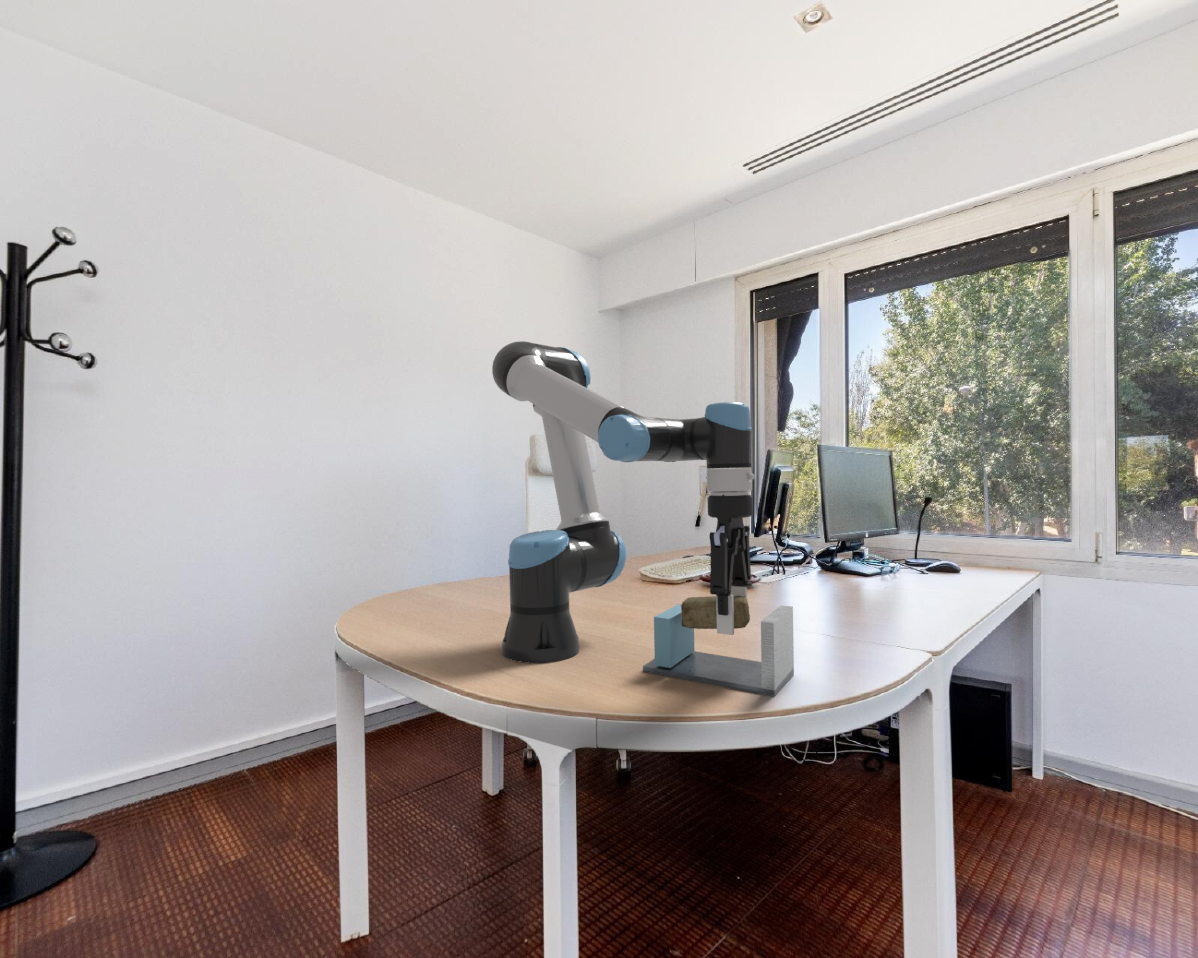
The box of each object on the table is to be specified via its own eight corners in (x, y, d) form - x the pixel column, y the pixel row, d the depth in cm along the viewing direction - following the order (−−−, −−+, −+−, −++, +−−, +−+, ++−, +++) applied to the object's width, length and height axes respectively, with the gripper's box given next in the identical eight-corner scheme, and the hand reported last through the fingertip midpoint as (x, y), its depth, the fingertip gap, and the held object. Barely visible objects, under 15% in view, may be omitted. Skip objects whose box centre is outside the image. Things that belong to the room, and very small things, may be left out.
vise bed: (642, 674, 102) (641, 606, 101) (671, 655, 112) (670, 593, 112) (774, 700, 89) (773, 623, 89) (793, 675, 100) (792, 606, 99)
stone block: (748, 630, 95) (745, 600, 95) (680, 631, 99) (677, 602, 99) (751, 621, 101) (748, 593, 101) (686, 622, 105) (683, 595, 105)
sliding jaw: (654, 665, 101) (653, 616, 101) (679, 648, 110) (678, 604, 110) (670, 667, 100) (669, 618, 99) (694, 650, 109) (693, 605, 108)
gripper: (731, 496, 88) (735, 646, 89) (767, 491, 105) (770, 617, 105) (686, 496, 92) (689, 640, 93) (727, 491, 109) (730, 613, 109)
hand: (732, 628), depth 99 cm, fingers closed on stone block, 6 cm apart
